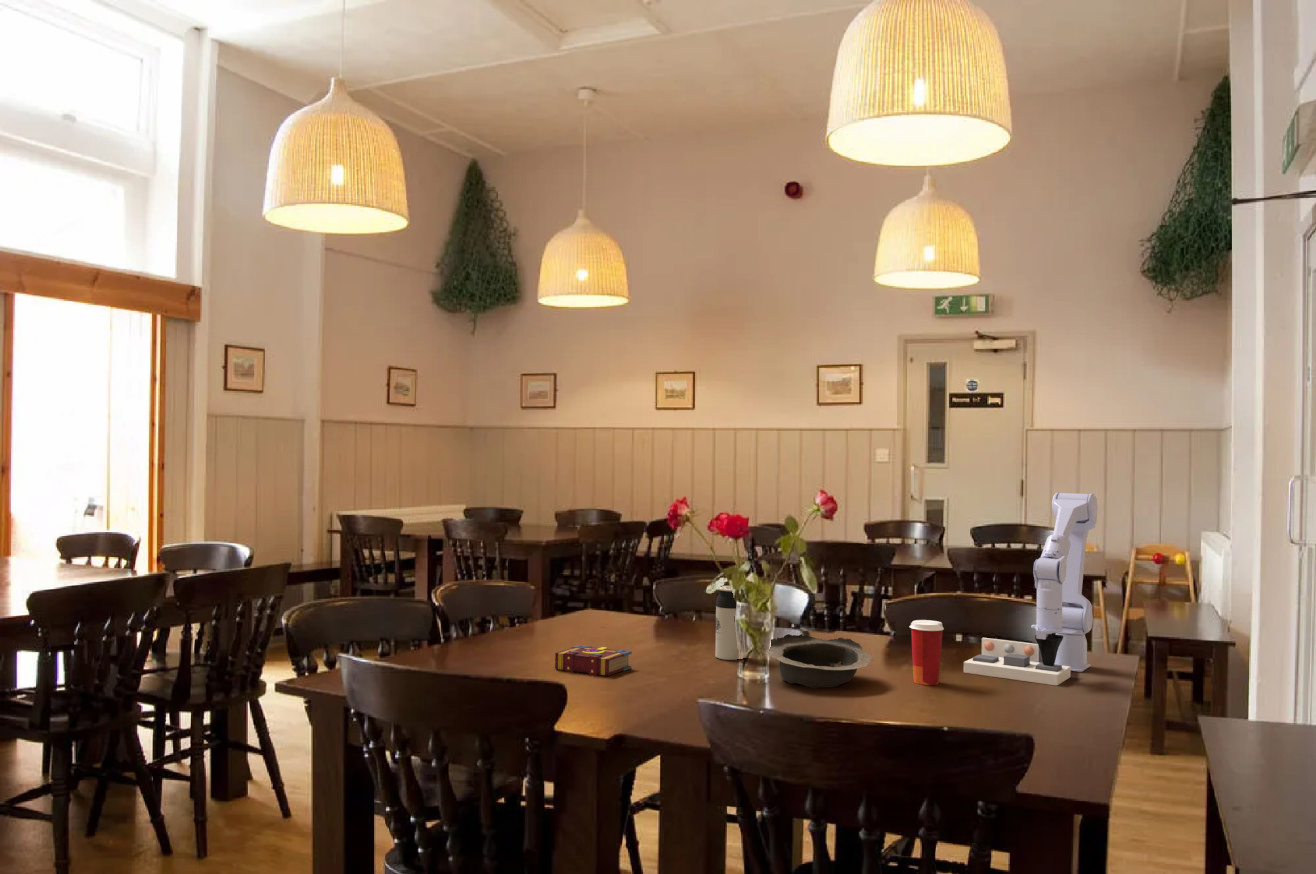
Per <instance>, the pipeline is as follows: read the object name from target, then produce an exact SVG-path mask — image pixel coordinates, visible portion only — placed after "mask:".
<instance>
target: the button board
mask: <svg viewBox="0 0 1316 874" xmlns="http://www.w3.org/2000/svg"><path fill="white" fill-rule="evenodd" d="M1039 663H1040V662H1031V661H1030V665H1029V666H1027V667H1025V668H1024V667H1016V666H1009V665H1004V658H1000V657H999V661H997V662H995V663H986V662H979V661H973V657H972V658H970V659H968V660H965V661H963V673H964V674H972V675H980V676H986V677H992V678H993V677H994V678H1000V679H1007V680H1014V681H1020V682H1021V681H1023V682H1030V683H1036V684H1043V685H1050V686H1056V687H1057V686H1059V685H1060V684H1062V683H1063V682H1065V681H1066V680H1068V679H1070V678H1071V672H1072V671H1071V667H1070V666H1062V670H1060V671H1058V672H1054V671H1046V670H1039V669H1036V665H1037V664H1039Z"/></svg>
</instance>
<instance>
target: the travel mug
mask: <svg viewBox="0 0 1316 874" xmlns="http://www.w3.org/2000/svg"><path fill="white" fill-rule="evenodd" d="M721 586H722V587H720V586H719V587H720V589H717V590H718V596H717V598H716V601H715V608H716V609H715V649H714V650H715V651H714V653H715V657H716V658H717V659H719V660H723V661H738V660H737V640H736V634H735V622H734V616H735V609H736V602H735V600H734V598H733V593H732V589H731V586H732V585H721Z"/></svg>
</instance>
